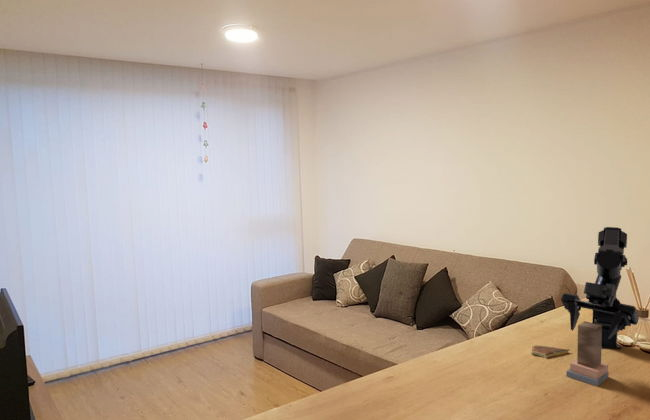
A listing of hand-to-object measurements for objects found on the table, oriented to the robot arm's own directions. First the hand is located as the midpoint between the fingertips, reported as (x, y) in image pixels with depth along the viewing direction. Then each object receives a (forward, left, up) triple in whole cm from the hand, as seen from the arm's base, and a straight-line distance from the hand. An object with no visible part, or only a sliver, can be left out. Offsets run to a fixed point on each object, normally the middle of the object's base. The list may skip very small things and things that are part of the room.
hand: (589, 333), depth 130 cm
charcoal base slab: (0, 0, -13) cm, 13 cm away
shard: (-17, -6, -13) cm, 22 cm away
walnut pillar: (0, 0, -9) cm, 9 cm away
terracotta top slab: (0, 0, -11) cm, 11 cm away
